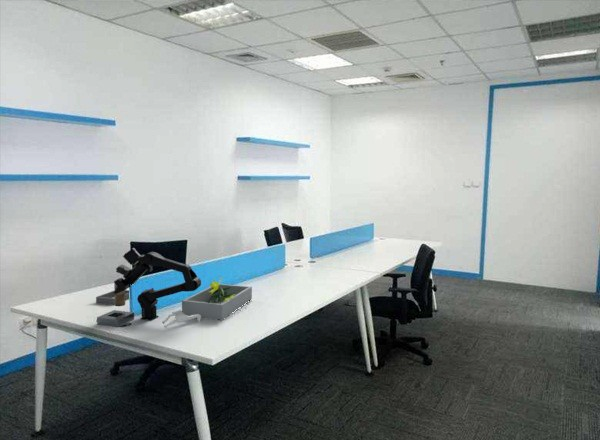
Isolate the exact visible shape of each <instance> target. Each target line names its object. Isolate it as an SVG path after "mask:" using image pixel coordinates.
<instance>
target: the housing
mask: <svg viewBox="0 0 600 440" xmlns="http://www.w3.org/2000/svg"><path fill="white" fill-rule="evenodd" d="M134 320H135V312H133V311H123V310H116V309H114V310H111V311H108V312H106V313H104V314H102V315H101V314H100V316H97V317H96V325H100V326H106V327H114V328H115V327H117V328H119V327H121V326H123V325H126V324H128V323H129V322H132V321H134ZM125 323H126V324H125Z"/></svg>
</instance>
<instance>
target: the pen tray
mask: <svg viewBox="0 0 600 440" xmlns="http://www.w3.org/2000/svg"><path fill="white" fill-rule="evenodd" d="M129 290H130V289H129ZM129 290H128V289H126V290H125V301H127V300H130V299H129ZM114 292H115V289H114V290H112V291H109V292H107V293H104V294H100V295H98V296H96V297H95V303H96V304H100V305H101V304H103V305H110V306H111V305H112V306H115V294H114Z"/></svg>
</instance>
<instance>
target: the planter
mask: <svg viewBox="0 0 600 440" xmlns="http://www.w3.org/2000/svg"><path fill="white" fill-rule="evenodd" d="M219 287H220V288H225V287H232V288H230V289H227V290H223V292H224V293H225V292H227V293H226V294H225V295H228V294H232V293H234V294H235V295H234V294H233V296H234V297H232V298H230V299H228V300H227V301H225V302H223V301H222V303H221V304H220V303H217V302H216V303H215V302H214V303H212V301H213V299H214V298H215V297H213V298H212V296H213V295H215V294H210V293H212V292H213V291H212V292H209V291H211V290H213V287H206V288H205V289H203V290H201V291H198V292H197V293H195V294H193V295H191V296H189V297H187V298H184V299H182V300H181V311H182V312H183V313H184V314H185V315H187V316H191V315H196V314H199V315H201V319H205V318H211V319H210V320H214V319H220V320H219V321H224V320H225V319H226V317H227V316H228V315H230V314H231V313H232V312H234V311H235V310H236V309H238V308H239V307H241V306H242V305H244V304H245V303H246V302H248V301H249V300H251V299H252V300H253V287H252V286H247V285H237V284H236V285H235V284H227V283H226V284H224V283H220V284H219ZM214 292H215V291H214ZM216 294H217V293H216ZM220 295H222V293H220ZM231 296H232V295H231ZM231 296H229V297H231ZM229 297H227V298H229ZM252 300H251V301H252ZM208 302H209V303H208ZM248 303H249V302H248ZM245 305H246V304H245ZM245 305H244V306H245ZM242 307H243V306H242ZM242 307H241V308H242ZM238 310H239V309H238ZM235 312H236V311H235ZM235 312H234V313H235ZM232 314H233V313H232ZM232 314H231V315H232ZM231 315H230V316H231ZM228 317H229V316H228ZM228 317H227V318H228ZM224 318H225V319H224ZM223 319H224V320H223Z"/></svg>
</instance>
